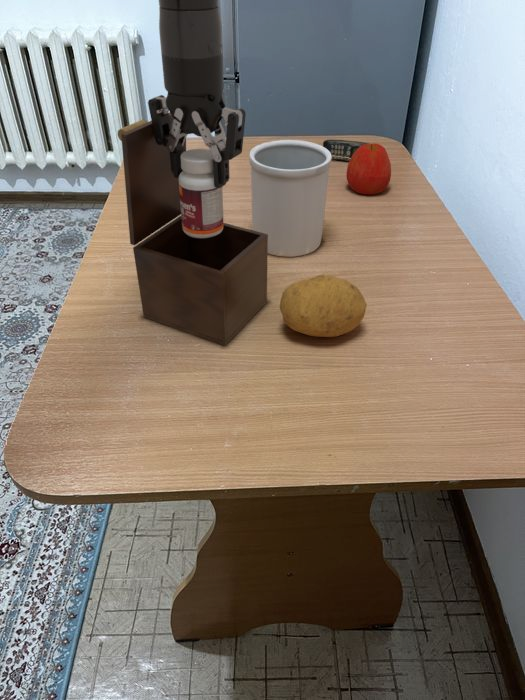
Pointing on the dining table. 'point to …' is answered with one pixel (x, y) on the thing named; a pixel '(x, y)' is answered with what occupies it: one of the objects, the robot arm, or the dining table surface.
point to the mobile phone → (342, 148)
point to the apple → (369, 169)
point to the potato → (322, 306)
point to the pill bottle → (200, 195)
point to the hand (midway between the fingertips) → (200, 180)
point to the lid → (148, 181)
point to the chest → (203, 279)
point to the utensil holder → (289, 194)
